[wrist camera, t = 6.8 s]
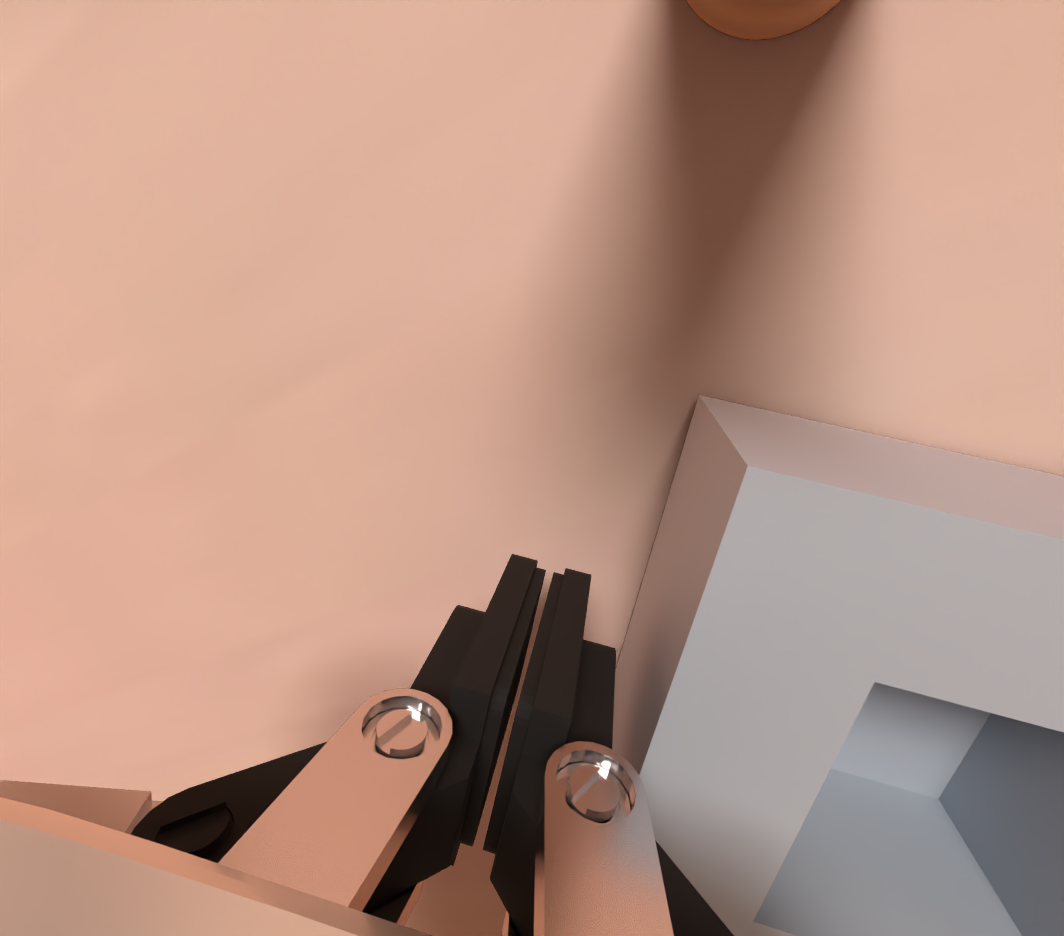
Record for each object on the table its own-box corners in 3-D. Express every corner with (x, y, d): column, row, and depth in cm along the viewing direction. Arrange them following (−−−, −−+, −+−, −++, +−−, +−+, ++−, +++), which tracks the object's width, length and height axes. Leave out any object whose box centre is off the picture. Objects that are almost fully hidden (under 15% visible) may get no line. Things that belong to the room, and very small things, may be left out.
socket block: (698, 394, 11) (748, 465, 7) (1218, 510, 10) (1705, 690, 6) (590, 751, 15) (572, 965, 10) (976, 864, 14) (1156, 1161, 9)
